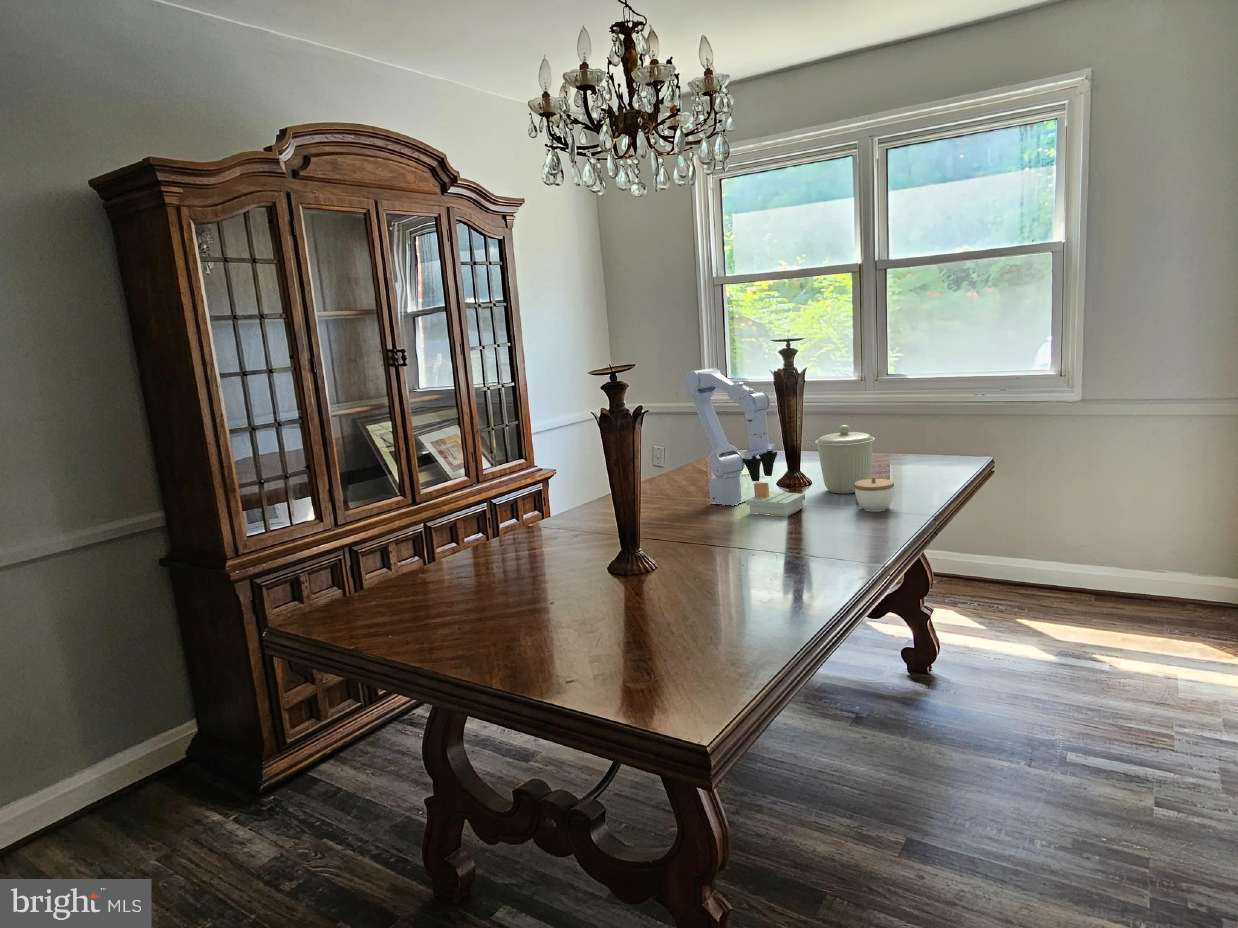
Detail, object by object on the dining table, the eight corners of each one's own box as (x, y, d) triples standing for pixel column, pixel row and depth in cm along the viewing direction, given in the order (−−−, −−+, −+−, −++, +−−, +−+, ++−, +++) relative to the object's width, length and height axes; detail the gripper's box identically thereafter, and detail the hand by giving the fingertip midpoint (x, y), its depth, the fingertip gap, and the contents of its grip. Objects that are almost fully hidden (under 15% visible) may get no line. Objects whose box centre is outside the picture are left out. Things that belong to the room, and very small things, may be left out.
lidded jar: (900, 511, 212) (899, 478, 210) (861, 515, 212) (860, 482, 211) (887, 503, 223) (886, 471, 221) (851, 506, 223) (849, 475, 221)
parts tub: (750, 513, 227) (749, 502, 226) (766, 505, 234) (766, 494, 234) (786, 516, 219) (785, 504, 219) (802, 508, 227) (801, 496, 226)
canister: (806, 491, 248) (802, 427, 244) (849, 481, 255) (846, 419, 252) (844, 500, 232) (840, 431, 228) (889, 489, 239) (886, 422, 235)
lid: (746, 505, 226) (744, 486, 225) (765, 496, 235) (764, 478, 234) (787, 508, 218) (785, 489, 217) (805, 499, 226) (804, 480, 225)
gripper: (757, 437, 218) (761, 483, 220) (782, 429, 229) (785, 473, 231) (736, 437, 222) (740, 483, 224) (761, 429, 233) (764, 473, 235)
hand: (762, 478), depth 228 cm, fingers open, 7 cm apart
